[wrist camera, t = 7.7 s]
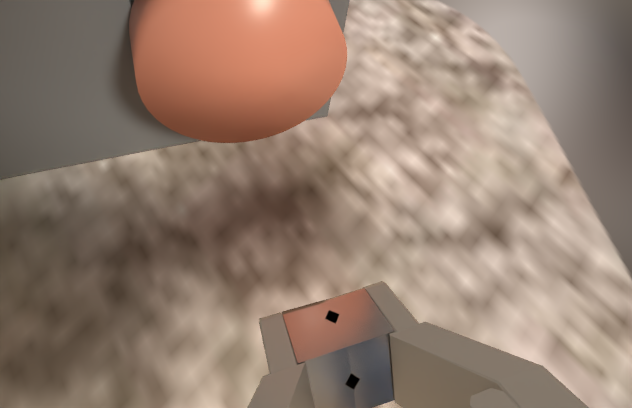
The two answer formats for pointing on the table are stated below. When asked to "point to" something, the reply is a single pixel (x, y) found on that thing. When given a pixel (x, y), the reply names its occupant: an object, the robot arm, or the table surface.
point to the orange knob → (235, 64)
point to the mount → (76, 86)
